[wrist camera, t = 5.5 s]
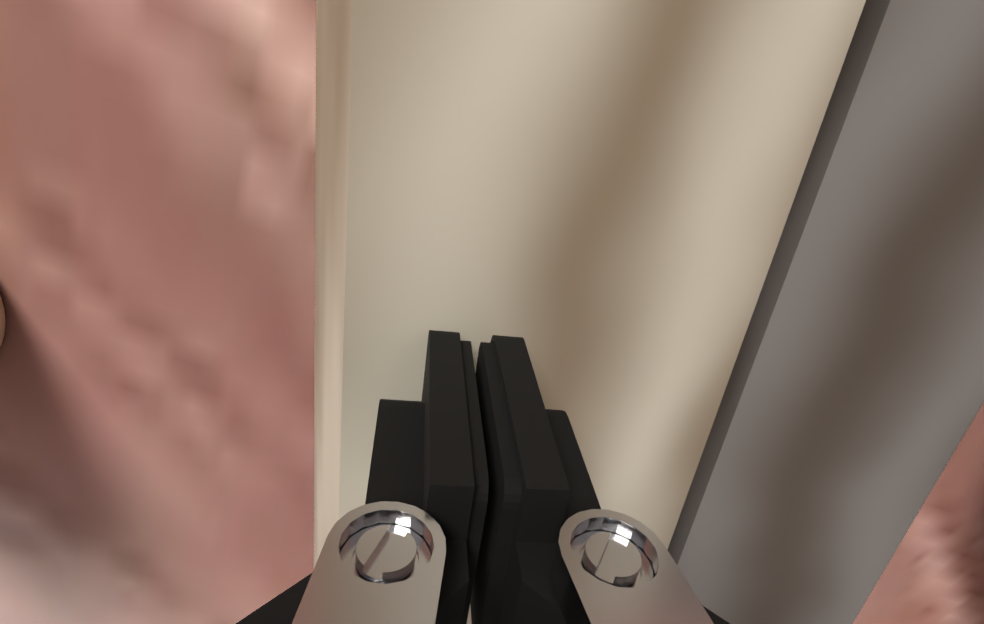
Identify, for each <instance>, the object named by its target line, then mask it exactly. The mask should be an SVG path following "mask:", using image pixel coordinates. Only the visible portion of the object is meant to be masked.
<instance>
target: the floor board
mask: <svg viewBox="0 0 984 624" xmlns="http://www.w3.org/2000/svg"><path fill="white" fill-rule="evenodd" d="M983 402H984V0H866V2H865V5H864V7H863V10H862V13H861V16H860V18H859V21H858V24H857V27H856V29H855V32H854V35H853V38H852V41H851V43H850V46H849V49H848V52H847V54H846V57H845V60H844V63H843V65H842V68H841V71H840V74H839V76H838V79H837V82H836V85H835V88H834V90H833V93H832V96H831V99H830V101H829V104H828V107H827V110H826V112H825V115H824V118H823V121H822V124H821V126H820V129H819V132H818V135H817V137H816V140H815V143H814V146H813V148H812V151H811V154H810V157H809V159H808V162H807V165H806V168H805V171H804V173H803V176H802V179H801V182H800V184H799V187H798V190H797V193H796V195H795V198H794V201H793V204H792V206H791V209H790V212H789V215H788V218H787V220H786V223H785V226H784V229H783V231H782V234H781V237H780V240H779V242H778V245H777V248H776V251H775V254H774V256H773V259H772V262H771V265H770V267H769V270H768V273H767V276H766V278H765V281H764V284H763V287H762V289H761V292H760V295H759V298H758V301H757V303H756V306H755V309H754V312H753V314H752V317H751V320H750V323H749V325H748V328H747V331H746V334H745V336H744V339H743V342H742V345H741V348H740V350H739V353H738V356H737V359H736V361H735V364H734V367H733V370H732V372H731V375H730V378H729V381H728V384H727V386H726V389H725V392H724V395H723V397H722V400H721V403H720V406H719V408H718V411H717V414H716V417H715V419H714V422H713V425H712V428H711V431H710V433H709V436H708V439H707V442H706V444H705V447H704V450H703V453H702V455H701V458H700V461H699V464H698V466H697V469H696V472H695V475H694V478H693V480H692V483H691V486H690V489H689V491H688V494H687V497H686V500H685V502H684V505H683V508H682V511H681V514H680V516H679V519H678V522H677V525H676V527H675V530H674V533H673V536H672V538H671V541H670V544H669V547H668V549H667V550H668V552H669V553H670V555H671V557H672V558H673V560H674V561H675V563H676V564H677V566H678V568H679V569H680V571H681V572H682V574H683V576H684V577H685V579H686V580H687V582H688V583H689V585H690V587H691V588H692V590H693V591H694V593H695V595H696V596H697V598H698V599H699V601H700V602H701V604H702V605H703V606H704V607H706V608H707V609H709V610H710V611H712V612H713V613H715V614H716V615H718V616H719V617H721V618H722V619H724V620H725V621H727V622H728V623H730V624H852V623H853V622H854V620H855V618H856V617H857V615H858V613H859V612H860V610H861V608H862V607H863V605H864V603H865V602H866V600H867V598H868V596H869V595H870V593H871V591H872V590H873V588H874V586H875V585H876V583H877V581H878V580H879V578H880V576H881V575H882V573H883V571H884V569H885V568H886V566H887V564H888V563H889V561H890V559H891V558H892V556H893V554H894V553H895V551H896V549H897V548H898V546H899V544H900V542H901V541H902V539H903V537H904V536H905V534H906V532H907V531H908V529H909V527H910V526H911V524H912V522H913V521H914V519H915V517H916V515H917V514H918V512H919V510H920V509H921V507H922V505H923V504H924V502H925V500H926V499H927V497H928V495H929V494H930V492H931V490H932V488H933V487H934V485H935V483H936V482H937V480H938V478H939V477H940V475H941V473H942V472H943V470H944V468H945V467H946V465H947V463H948V462H949V460H950V458H951V456H952V455H953V453H954V451H955V450H956V448H957V446H958V445H959V443H960V441H961V440H962V438H963V436H964V435H965V433H966V431H967V429H968V428H969V426H970V424H971V423H972V421H973V419H974V418H975V416H976V414H977V413H978V411H979V409H980V408H981V406H982V404H983Z"/></svg>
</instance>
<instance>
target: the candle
mask: <svg viewBox="0 0 984 624" xmlns="http://www.w3.org/2000/svg"><path fill="white" fill-rule="evenodd" d="M5 323H6V320H5V310H4V306H3V302H2V298H1V296H0V347H1V345H2V342H3V338H4V334H5Z"/></svg>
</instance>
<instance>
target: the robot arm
mask: <svg viewBox="0 0 984 624" xmlns="http://www.w3.org/2000/svg"><path fill="white" fill-rule="evenodd" d="M469 607H471V622H472V624H730V623H728V622H727V621H725V620H724V619H722V618H721V617H719V616H718V615H716V614H715V613H713V612H712V611H710V610H709V609H707V608H706V607H704V606H703V605H702V604H701V602H700V601H699V599H698V598H697V596H696V595H695V593H694V591H693V590H692V588H691V587H690V585H689V583H688V582H687V580H686V579H685V577H684V576H683V574H682V572H681V571H680V569H679V568H678V566H677V564H676V563H675V561H674V560H673V558H672V557H671V555H670V553H669V552H668V550H667V549H666V547H665V545H664V544H663V543H662V542H661V540H660V539H659V538H658V537H657V536H656V534H655V533H654V532H653V531H651V530H650V529H649V528H648V527H646V526H645V525H644V524H642V523H641V522H640V521H638V520H636V519H634V518H632V517H630V516H628V515H626V514H623V513H619V512H615V511H611V510H605V509H601V507H600V504H599V501H598V498H597V496H596V493H595V490H594V487H593V485H592V482H591V479H590V476H589V473H588V471H587V468H586V465H585V462H584V459H583V457H582V454H581V451H580V448H579V445H578V443H577V440H576V437H575V434H574V431H573V429H572V426H571V423H570V420H569V417H568V415H567V413H566V412H565V411H563V410H553V409H545V406H544V403H543V399H542V396H541V393H540V390H539V386H538V383H537V380H536V376H535V373H534V370H533V367H532V363H531V360H530V357H529V354H528V350H527V347H526V344H525V340H524V338H523V337H511V336H498V335H493V336H492V338H491V342H490V343H488V342H481V343H480V346H479V351H478V358H477V365H476V372H475V368H474V360H473V353H472V345H471V341H462V340H460V332H448V331H435V330H429V334H428V343H427V353H426V362H425V372H424V382H423V391H422V401H407V400H391V399H380V401H379V407H378V414H377V422H376V429H375V436H374V443H373V450H372V458H371V465H370V472H369V479H368V487H367V494H366V501H365V505H362V506H360V507H358V508H356V509H353V510H351V511H349V512H348V513H346V514H345V515H344V516H343V517H342V518H340V519H339V520H338V521H337V522H336V523H335V524H334V526H333V528H332V529H331V531H330V532H329V534H328V536H327V538H326V540H325V543H324V545H323V548H322V550H321V553H320V555H319V558H318V560H317V563H316V565H315V568H314V570H313V573H311V574H310V575H308V576H307V577H305V578H304V579H302V580H301V581H299V582H298V583H296V584H295V585H293V586H292V587H290V588H289V589H287V590H286V591H284V592H283V593H281V594H280V595H278V596H277V597H275V598H274V599H272V600H271V601H269V602H268V603H266V604H265V605H263V606H262V607H260V608H259V609H257V610H256V611H254V612H253V613H251V614H250V615H248V616H247V617H245V618H244V619H242V620H241V621H239V622H238V623H236V624H467V619H468V613H469Z"/></svg>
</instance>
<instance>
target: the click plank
mask: <svg viewBox="0 0 984 624" xmlns="http://www.w3.org/2000/svg"><path fill="white" fill-rule="evenodd" d="M865 2H866V0H316V181H315V415H314V568H315V565H316V563H317V560H318V558H319V555H320V553H321V550H322V548H323V545H324V543H325V540H326V538H327V536H328V534H329V532H330V531H331V529H332V528H333V526H334V524H335V523H336V522H337V521H338V520H339V519H340V518H342V517H343V516H344V515H345V514H346V513H348V512H349V511H351V510H353V509H356V508H358V507H360V506H362V505H365V501H366V494H367V487H368V479H369V472H370V465H371V458H372V450H373V443H374V436H375V429H376V422H377V414H378V407H379V401H380V399H391V400H407V401H422V391H423V382H424V372H425V362H426V353H427V343H428V334H429V330H435V331H448V332H460V340H462V341H471V345H472V353H473V360H474V368H475V372H476V365H477V358H478V351H479V346H480V343H481V342H488V343H490V342H491V338H492V336H493V335H498V336H511V337H523V338H524V340H525V344H526V347H527V350H528V354H529V357H530V360H531V363H532V367H533V370H534V373H535V376H536V380H537V383H538V386H539V390H540V393H541V396H542V399H543V403H544V406H545V409H553V410H563V411H565V412H566V413H567V415H568V417H569V420H570V423H571V426H572V429H573V431H574V434H575V437H576V440H577V443H578V445H579V448H580V451H581V454H582V457H583V459H584V462H585V465H586V468H587V471H588V473H589V476H590V479H591V482H592V485H593V487H594V490H595V493H596V496H597V498H598V501H599V504H600V507H601V509H605V510H611V511H615V512H619V513H623V514H626V515H628V516H630V517H632V518H634V519H636V520H638V521H640V522H641V523H642V524H644V525H645V526H646V527H648V528H649V529H650V530H651V531H653V532H654V533H655V534H656V536H657V537H658V538H659V539H660V540H661V542H662V543H663V544H664V545H665V547H666V549H668V547H669V544H670V541H671V538H672V536H673V533H674V530H675V527H676V525H677V522H678V519H679V516H680V514H681V511H682V508H683V505H684V502H685V500H686V497H687V494H688V491H689V489H690V486H691V483H692V480H693V478H694V475H695V472H696V469H697V466H698V464H699V461H700V458H701V455H702V453H703V450H704V447H705V444H706V442H707V439H708V436H709V433H710V431H711V428H712V425H713V422H714V419H715V417H716V414H717V411H718V408H719V406H720V403H721V400H722V397H723V395H724V392H725V389H726V386H727V384H728V381H729V378H730V375H731V372H732V370H733V367H734V364H735V361H736V359H737V356H738V353H739V350H740V348H741V345H742V342H743V339H744V336H745V334H746V331H747V328H748V325H749V323H750V320H751V317H752V314H753V312H754V309H755V306H756V303H757V301H758V298H759V295H760V292H761V289H762V287H763V284H764V281H765V278H766V276H767V273H768V270H769V267H770V265H771V262H772V259H773V256H774V254H775V251H776V248H777V245H778V242H779V240H780V237H781V234H782V231H783V229H784V226H785V223H786V220H787V218H788V215H789V212H790V209H791V206H792V204H793V201H794V198H795V195H796V193H797V190H798V187H799V184H800V182H801V179H802V176H803V173H804V171H805V168H806V165H807V162H808V159H809V157H810V154H811V151H812V148H813V146H814V143H815V140H816V137H817V135H818V132H819V129H820V126H821V124H822V121H823V118H824V115H825V112H826V110H827V107H828V104H829V101H830V99H831V96H832V93H833V90H834V88H835V85H836V82H837V79H838V76H839V74H840V71H841V68H842V65H843V63H844V60H845V57H846V54H847V52H848V49H849V46H850V43H851V41H852V38H853V35H854V32H855V29H856V27H857V24H858V21H859V18H860V16H861V13H862V10H863V7H864V5H865ZM467 624H472V622H471V607H469V613H468V619H467Z"/></svg>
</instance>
